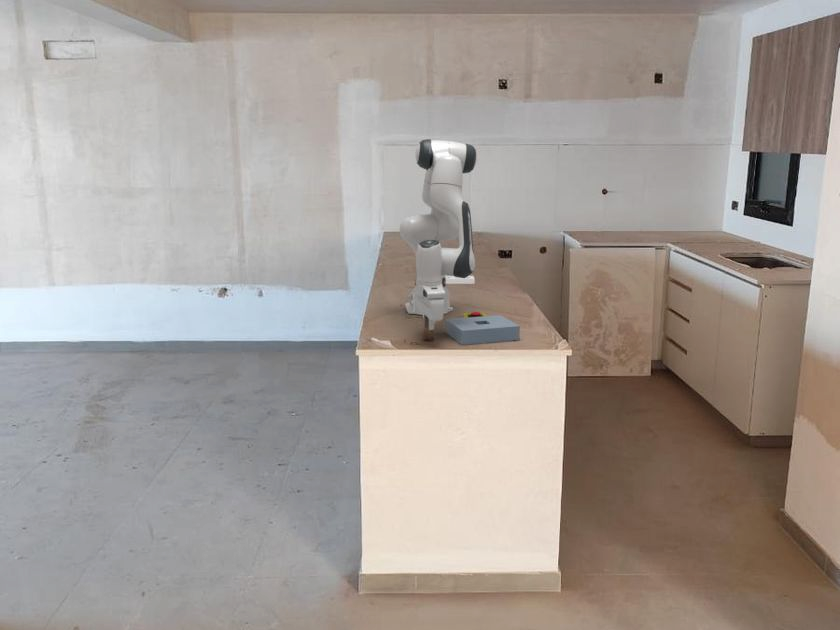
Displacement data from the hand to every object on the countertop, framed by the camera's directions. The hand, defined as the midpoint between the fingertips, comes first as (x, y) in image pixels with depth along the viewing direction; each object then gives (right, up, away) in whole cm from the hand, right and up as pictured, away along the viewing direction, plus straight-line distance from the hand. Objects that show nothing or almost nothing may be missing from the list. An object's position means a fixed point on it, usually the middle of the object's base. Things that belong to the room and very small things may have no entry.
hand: (429, 327), depth 253 cm
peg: (0, -4, +1) cm, 4 cm away
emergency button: (+18, 0, +23) cm, 29 cm away
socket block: (+19, -3, +5) cm, 20 cm away
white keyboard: (+14, +24, +121) cm, 125 cm away
